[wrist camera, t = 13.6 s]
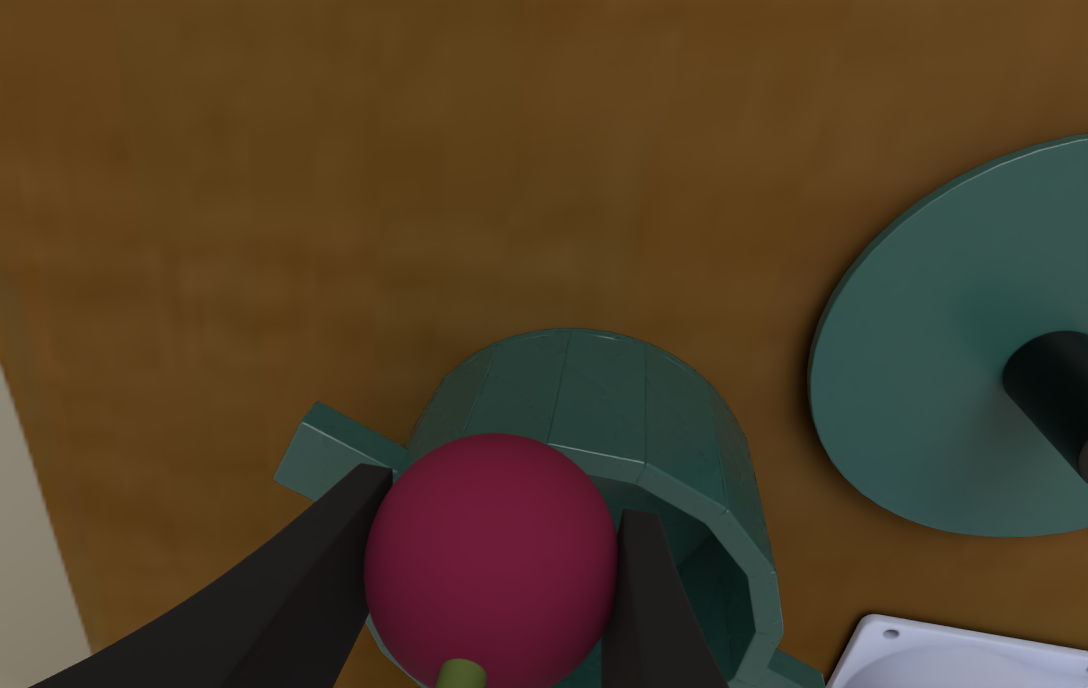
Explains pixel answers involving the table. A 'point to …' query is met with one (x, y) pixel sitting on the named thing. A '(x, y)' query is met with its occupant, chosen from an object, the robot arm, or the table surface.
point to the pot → (605, 472)
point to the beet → (491, 565)
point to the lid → (968, 353)
